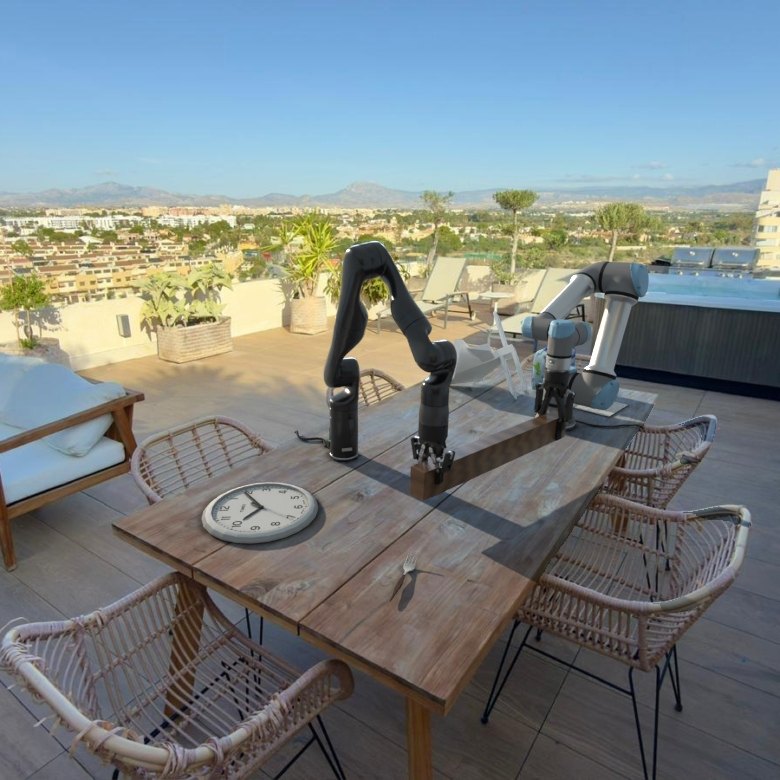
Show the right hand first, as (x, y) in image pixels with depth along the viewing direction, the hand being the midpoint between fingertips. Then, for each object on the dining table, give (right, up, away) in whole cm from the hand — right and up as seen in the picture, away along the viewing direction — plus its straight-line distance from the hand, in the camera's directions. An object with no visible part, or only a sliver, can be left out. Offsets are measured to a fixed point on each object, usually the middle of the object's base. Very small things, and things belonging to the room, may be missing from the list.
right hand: (550, 436), depth 173 cm
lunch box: (+24, +16, +77) cm, 82 cm away
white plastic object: (-11, +14, +70) cm, 72 cm away
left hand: (-42, -8, -36) cm, 56 cm away
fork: (-50, -26, -60) cm, 83 cm away
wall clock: (-87, -17, -34) cm, 95 cm away
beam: (-21, -6, -18) cm, 28 cm away
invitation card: (+39, +8, +53) cm, 66 cm away
